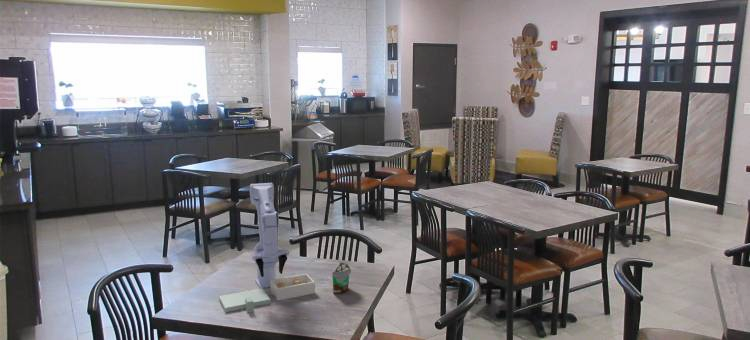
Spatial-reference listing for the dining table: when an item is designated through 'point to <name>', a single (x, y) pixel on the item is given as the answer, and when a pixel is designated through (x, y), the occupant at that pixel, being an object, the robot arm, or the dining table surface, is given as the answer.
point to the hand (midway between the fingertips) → (271, 274)
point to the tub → (292, 286)
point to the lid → (244, 300)
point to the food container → (341, 278)
